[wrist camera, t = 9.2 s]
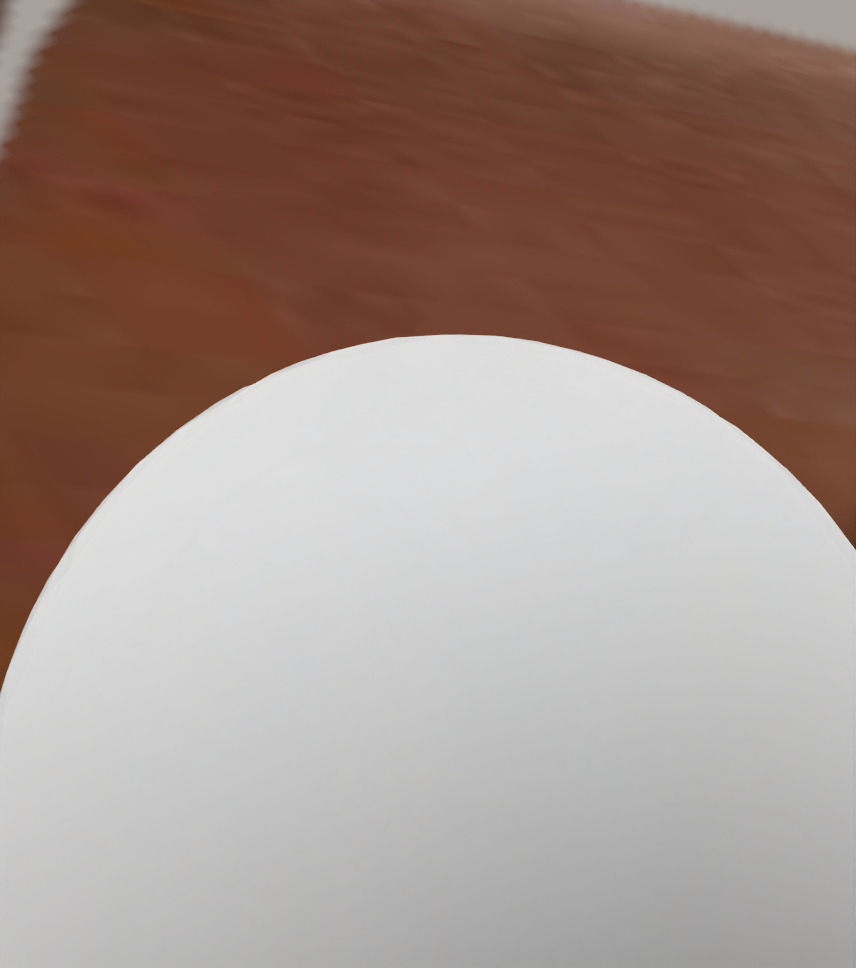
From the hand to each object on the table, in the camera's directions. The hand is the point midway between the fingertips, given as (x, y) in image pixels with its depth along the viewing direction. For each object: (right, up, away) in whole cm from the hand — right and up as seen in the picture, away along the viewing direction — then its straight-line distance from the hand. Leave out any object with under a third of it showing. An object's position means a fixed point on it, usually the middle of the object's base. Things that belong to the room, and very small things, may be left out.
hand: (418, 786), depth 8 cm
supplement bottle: (-1, -3, +8) cm, 9 cm away
